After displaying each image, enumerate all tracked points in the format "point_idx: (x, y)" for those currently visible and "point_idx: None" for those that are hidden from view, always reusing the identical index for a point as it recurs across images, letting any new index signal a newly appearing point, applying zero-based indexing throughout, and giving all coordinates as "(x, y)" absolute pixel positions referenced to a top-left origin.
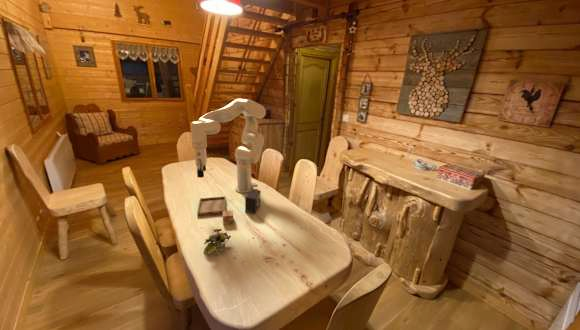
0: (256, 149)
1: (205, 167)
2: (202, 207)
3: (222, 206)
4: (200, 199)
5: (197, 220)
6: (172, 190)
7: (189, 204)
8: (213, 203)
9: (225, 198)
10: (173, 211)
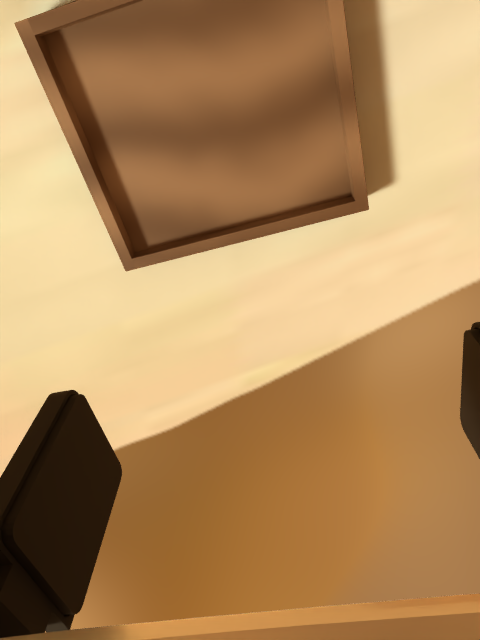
0: None
1: (34, 452)
2: (247, 203)
3: (209, 3)
4: (144, 260)
5: (415, 180)
6: None
7: (188, 315)
8: (165, 126)
9: (62, 6)
10: (287, 371)
